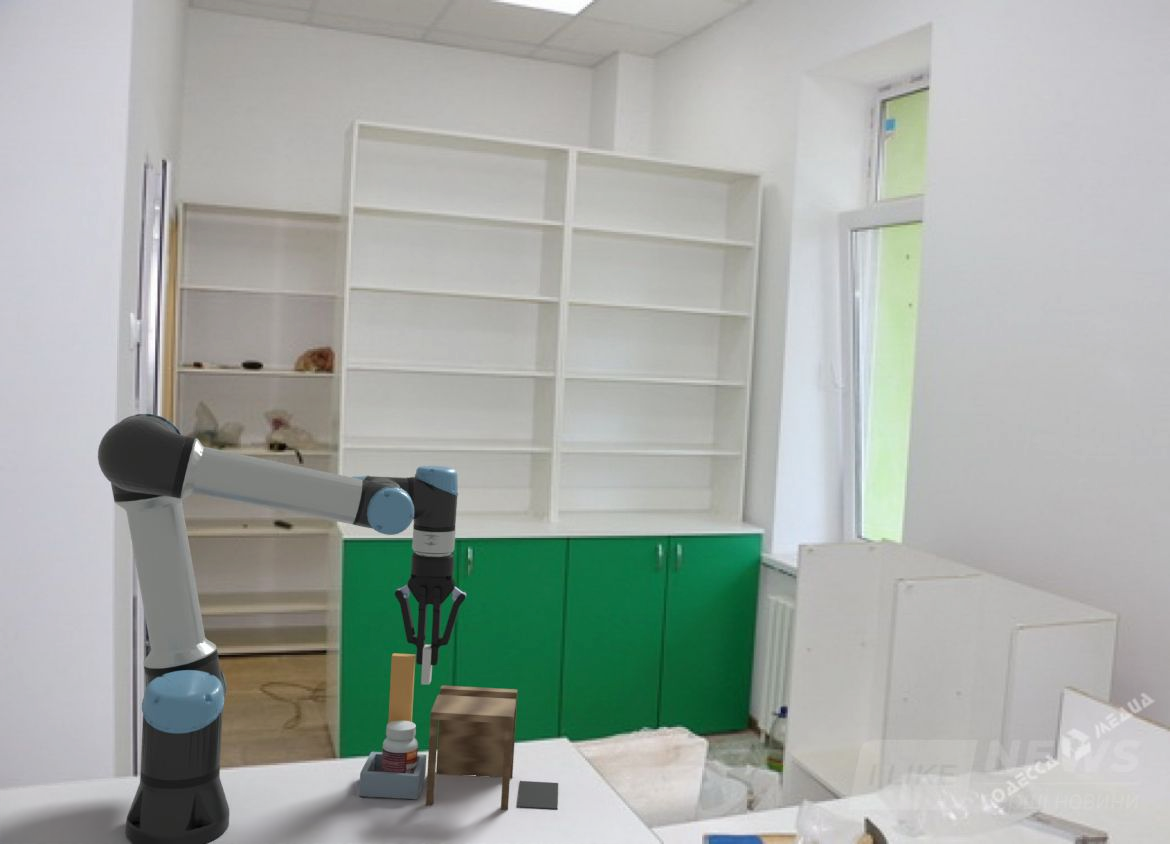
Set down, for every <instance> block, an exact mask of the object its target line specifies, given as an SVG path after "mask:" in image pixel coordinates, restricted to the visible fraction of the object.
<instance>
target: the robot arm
mask: <svg viewBox="0 0 1170 844" xmlns="http://www.w3.org/2000/svg"><path fill="white" fill-rule="evenodd" d="M97 449H98V450H97V460H98V461H97V462H98V465H99V468H100V471H101V472H102V474H103V475H104V477H105V478H106V480H107V481H108V482H110V484H111V485H110V486H111V490H112V491H111V492H112V497H113V500H114V504H116V505H117V506H119V507H120V508H122V509H124V511H125V512H126V516H127V522H128V528H129V532H130V534H129V535H130V540H131V544H132V550H133V551H132V552H133V555H134V562H135V567H136V572H137V579H138V584H139V589H140V590H139V591H140V595H141V596H140V597H141V600H142V605H143V611H144V617H145V623H146V629H147V634H148V640H149V645H150V651H149V653H148V655H147V656H146V657H145V659H144V660H143V669H144V673H145V679H146V687H145V690H144V694H143V698H142V702H141V711H142V728H141V729H142V730H141V752H140V754H141V756H140V773H139V774H140V776H139V784H138V787H137V789H136V791H135V792H136V793H135V795H134V798H133V800H132V803H131V805H130V807H129V808H130V809H129V811H128V813H127V816H126V820H125V837H126V838H127V840H128V841H129V842H131V843H132V844H206V843H208V842H211V841H214V840H215V839H217V838H219V837H220V836H222V835H223V834H224V833H225V832H226V831H227V829H228V828H229V826H230V807H229V803H228V800H227V797H226V793H225V789H224V787H223V784H222V780H221V778H220V777H221V776H220V774H221V773H220V772H221V770H220V769H221V752H222V734H223V733H222V730H223V729H222V728H223V713H224V704H225V700H226V693H227V683H226V677H225V675H224V673H223V670H222V669H221V666H220V659H219V655H218V654H219V653H218V649H217V645H216V643H214V642H212V641H210V639H209V640H208V639H207V638H206V636H205V635H206V633H205V630H204V629H205V628H204V622H203V617H202V612H201V605H200V601H199V595H198V589H197V583H196V576H195V571H194V566H193V564H194V563H193V559H192V554H191V548H190V547H191V546H190V543H189V537H188V530H187V526H186V519H185V513H184V507H183V501H184V499H185V498H187V497H189V496H191V495H196V496H200V497H205V498H212V499H217V500H222V501H228V502H232V503H238V504H241V505H242V504H243V505H247V506H254V507H258V508H263V509H269V510H275V511H279V512H280V511H281V512H285V513H290V514H296V515H301V516H306V517H312V518H318V519H321V520H322V519H323V520H328V521H332V522H339V523H343V524H348V525H353V526H356V527H357V526H358V527H362V528H367V529H372V530H374V531H375V532H378V533H380V534H383V535H386V536H395V535H399V534H400V533H402V532H404V531H406V530H407V529H408V528H409V526H410V525H411V524H412V522H413V530H412V531H413V532H412V542H411V543H412V544H411V548H412V550H413V553H412V554H411V565H410V577H409V579H408V581H407V584H406V585H404V586H402V587H398V588H397V589H396V590H395V592H394V597H395V598H396V599H397V601H398V602H399V606H400V610H401V611H400V612H401V617H402V621H403V627H404V631H405V632H404V633H405V637H406V642H407V643H408V644H412V645H414V646H415V647H416V657H415V663H416V664H417V665H419V666H420V665H421V681H420V685H427V686H429V685H430V684H431V682H432V674H433V666H437V664H438V662H439V658H440V657H439V654H440V647H442V646H447V645H448V644H449V641H450V640H451V636H452V633H453V629H454V626H455V623H456V619H457V616H458V614H459V610H460V607H461V605H462V604H463V602H464V601H465V600H466V598H467V592H466V591H465V590H464V591H463V590H461V589H459V588H458V587H457V586H456V582H455V580H454V564H455V563H454V562H455V556H454V554H452V553H453V552H454V551H455V545H456V544H455V543H456V523H457V521H456V520H457V508H458V507H457V506H458V495H459V493H458V490H459V489H458V488H459V487H458V472H457V471H456V470H455V469H454V468H453V467H452V468H451V467H448V466H439V465H420V466H419V467H417V468H416V471H415V474H414V476H410V477H396V476H395V477H394V476H393V477H390V476H374V475H373V476H372V475H364V476H360V475H359V476H348V475H347V476H346V475H341V474H337V473H332V472H327V471H323V470H318V469H313V468H308V467H302V466H297V465H294V464H288V463H285V462H280V461H275V460H270V459H266V458H259V457H256V456H250V455H246V454H241V453H236V452H231V451H226V450H221V449H218V448H212V447H208V446H207V447H206V446H204V445H203V444H202V443H201V441H200V440H199V438H196V437H192V436H186V435H183V434H181V430H179V429H178V427H177V426H176V425H175V424H174V423H173V422H172V421H170V420H169V419H167V418H165V417H163V416H161V415H157V414H152V413H142V414H141V413H138V414H135V415H130V416H128V417H125V418H124V419H122V420H121V421H119V422H118V423H116V424H114V425H113V426H111V428H109V429H108V430H107V431H106V432H105V434H104V435H103V436H102V438H101V440H100V443H99V445H98V448H97ZM410 592H411V594H412V596H413V597H414V599H415V600H416V602H417V603H418V609H417V610H418V617H417V631H416V630H415V626H414V620H413V615H412V610H411V605H410V599H409V597H410ZM451 594H452V597H451V599H452V601H453V604H452V606H451V609H450V613H449V614H448V615H449V616H448V619H447V622H446V626H445V629H444V632H443V635H442V636H441V627H442V626H441V624H442V623H441V621H442V609H443V608H442V607H443V603H444V602H445V601H446V600H447V599H448V597H450V595H451ZM428 605H432V621H431V622H432V623H431V624H432V625H431V643H430V644H426V641H427V640H426V639H427V638H426V636H427V621H428V620H427V617H428V616H427V615H428ZM416 632H417V635H416Z"/></svg>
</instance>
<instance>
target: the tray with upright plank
mask: <svg viewBox="0 0 1170 844" xmlns="http://www.w3.org/2000/svg"><path fill="white" fill-rule="evenodd" d="M390 668H391V669H390V681H389V682H390V683H389V684H390V685H389V686H390V689H389V704H388V705H389V706H388V721H387V724H388V723H390V722H393V721H410V722H413V711H414V710H413V707H414V706H413V705H414V693H415V692H414V688H415V687H414V686H415V670H416V669H415V668H416V654H411V653H410V654H409V653H397V652H396V653H392V655H391V667H390ZM382 752H383V751H371V752H370V753H369V756H368V757H367V759H366V761H365V763H364V765H363V766H362V769H361V771H360V773H359V789H358V790H359V792H358V796H359V797H371V798H372V797H373V798H391V799H394V798H395V799H407V800H408V799H410V800H418V798H419V796H420V793H421V789H422V787H423V784H424V781H425V777H426V769H427V754H419V753H417V766H416V768H415V771H414V774H410V773H392V772H382Z"/></svg>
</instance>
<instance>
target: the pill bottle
mask: <svg viewBox="0 0 1170 844" xmlns="http://www.w3.org/2000/svg"><path fill="white" fill-rule="evenodd" d="M416 728H417V726H416V724H415V722H413V721H412V722H410V721H393V722H390V723H388V722H387V724H386V730H385V736H386V738H385V739H384V740H383V742H382V751H381V752H382V772H392V773H410V774H414V771H415V768H416V766H417V754H418V751H419V741H418V740H417V738H416V735H417V734H416V733H417V729H416Z"/></svg>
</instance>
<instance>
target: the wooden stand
mask: <svg viewBox="0 0 1170 844" xmlns="http://www.w3.org/2000/svg"><path fill="white" fill-rule="evenodd" d="M439 689H440V692H439V694H437V696H436V699H435V701H434V703H433V706H432V708H431V711H430V719H429V738H428V739H429V740H428V753H427V754H428V756H427V758H428V759H427V773H426V775H427V776H426V795H425V807H426V806H427V807H428V806H429V807H433V806H434V801H435V785H436V775H443V774H444V775H446V776H447V775H448V776H462V775H476V776H475V777H480V776H489V777H488V778H498V777H502V778H501V779H502V781H501V798H500V800H501V801H500V811H508V809H509V800H510V799H509V798H510V785H511V784H510V782H511V779H513V772H514V759H515V758H514V757H515V756H514V755H515V741H516V725H517V723H516V722H517V706H518V705H517V704H518V703H517V702H518V691H519V690H518V689H515V688H511V689H510V688H498V687H497V688H494V687H477V686H476V687H475V686H459V685H441V686H440V688H439Z"/></svg>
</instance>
